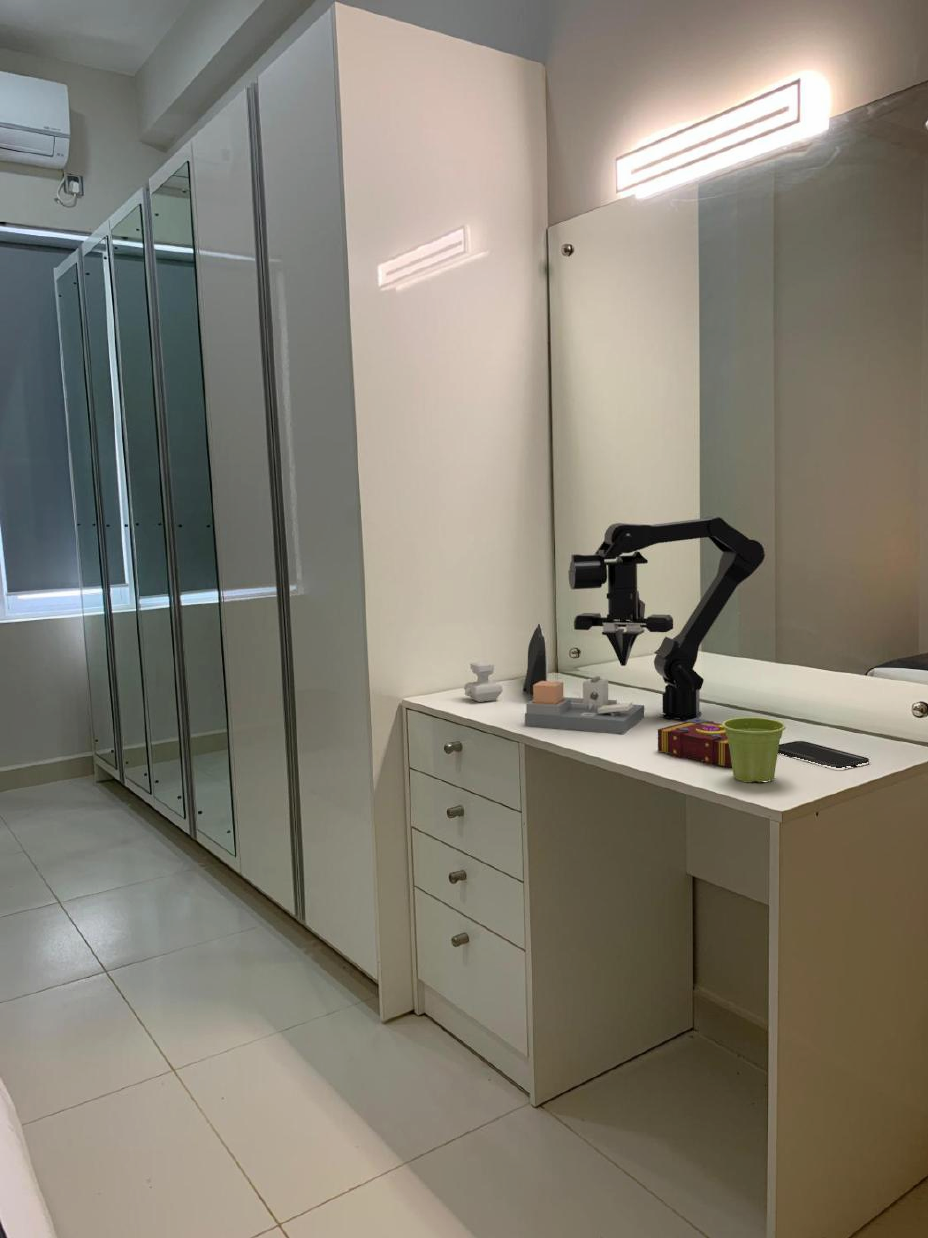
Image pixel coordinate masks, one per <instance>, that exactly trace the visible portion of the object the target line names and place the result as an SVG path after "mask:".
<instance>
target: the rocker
mask: <svg viewBox="0 0 928 1238" xmlns="http://www.w3.org/2000/svg"><path fill="white" fill-rule="evenodd" d="M632 707H633V702H624V703H619V704H613V705H604V706H602V707H600V708H599V709H597V710H598V713H608V712H617V711H626V710H629V709H630V708H632Z"/></svg>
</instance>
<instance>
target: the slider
mask: <svg viewBox="0 0 928 1238" xmlns="http://www.w3.org/2000/svg"><path fill="white" fill-rule="evenodd" d="M592 692H596V693H598V699H597V700H596V702H595V704H596V705H608V700H609V680H608V679H601V676H594V677H592V678H588V679H586V680H584V681H583V682H582V698H583V704H588V703H589V700H590V694H591V693H592Z"/></svg>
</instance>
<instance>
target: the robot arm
mask: <svg viewBox="0 0 928 1238" xmlns="http://www.w3.org/2000/svg"><path fill="white" fill-rule="evenodd" d="M702 538H708V539H709V540H710V541H711V542H712V543H713V544H714V546H715V547H716V548H717V549H718V550H719V551H721V553H722V554H721V557H720V560H719V564H718V569H717V573H716V575H715V577H714V578H713V580H712V581H711V583H710V585H709V587H708V588H707V589H706V592H705V593H704V594H703V596H702V597H701V599H700V600H699V602H698V604H697V605H696V607H695V609H694V610H693V611H692V613H691V614H690V616H689V618H688V620H687V621H686V623H685V624H684V625H683V627H682V629H681V630H680V632H679V633H678V634H677V635H675V636H674V637H673V638H671V637H668V636H665V637H664V638H663V640H662V642H661V644H660V645H659V647H658V649H657V650H655V651H654V654H655V657H654V659H653V664H654V668H655V671H656V673H658V674H659V676H662V679H663V682H664V683H665V684H667V685H666V686H664V692H663V693H662V714H663V715H662V719H671V720H683V721H687V720H691V719H694V718H699V717H700V716H701V715H702V711H700V706H701V705H700V699H701V698H700V697H701V696H700V690H701V689H702V687H703V684H704V680H705V679H704V678H703V677H702V676H701V675H699V674H698V672H696V671H695V669H694V667H695V665H696V662H697V661H698V660H697V659H698V654H699V648H700V646H701V644H702V642H703V640H704V638H705V637H706V636H707V634H708V633H709V632H710V629H712V628H711V627H712V626H713V625H714V623H715V622H716V620H717V619H718V617H719V615H720V614H721V612H722V611H723V609H724V608H725V606H726V605H727V604H728V602H729V600H730V598H731V597H732V595H733V593H734V592H735V590H736V589H737V587H738V586H739V585H740V584H741V583H743V582H744V581H745V580H747V579H748V578H749V577H750V576H751V575H752V574H754V573H755V571H756V570H757V569H758V568H759V567H760V566H761V564H763V562H764V560H765V558H766V557H765V556H766V553H765V549H764V547H763V545H762V543H760V541H757V540H756V539H750V538H748V537H747V536H746V535H744V534H743V533H742V532H740V531H739V530H737V529H736V528H734V527H733V526H731V525H730V524H728V523H727V522H726V521H725V520H724V519H723V518H722V517H719V516H706V517H703V518H698V519H697V518H696V519H688V520H680V521H673V522H672V521H671V522H662V523H656V524H644V523H643V524H642V523H641V524H640V523H624V522H623V523H622V522H616V523H613V524H610V525H609V526H608V528H607V529H606V531H605V532H604V539H603V541H602V543H601V544H600V546H599V547H598V549H597V550H596V551H595V553H594V554H578V553H577V554H571V556H570V557H571V558H570V563H569V570H568V583H569V586H570V588H571V590H587V589H591V590H592V589H593V590H594V589H601V588H602V586H603V585H605V584H606V583H607V593H606V599H607V601H608V603H607V605H608V606H607V607H608V608H607V609H608V610H607V611H608V613H607V614H606V617H604V616H603V617H602V615H601V613H599V612H596V613H595V612H583V613H580V614H577V615H576V616H575V617H574V620H573V629H574V630H576V631H589V630H590V629H592V627H602V632H601V635H602V636H606V637H607V639H608V641H609V642H610V644H611V646H612V648H613V650H614V652H615V654H616V657H617V659H618V661H619V664H620V666H622V667H626V666H627V664H628V661H629V658H630V656H631V655H630V654H631V652H632V649H633V647H634V643H635V641H636V639H637V638H638V636H640V635H642V634H644V633H645V628H646V630H647V631H649V633H668V632H669V631H671V630H673V629H674V619H673V617H672V615H671V614H653V613H652V614H651V615H650V616H647V617H646V618H645V613H646V612H645V611H646V603H645V602H643V600H642V599H640V593H639V590H638V565H642V564H644V565H645V564H648V562H649V560H648V559H647V558H646V557H644V556H643V555H642V553H641V552H640V550H644V549H645V548H648V547H651V546H654V545H657V544H663V543H671V542H679V541H686V540H687V541H688V540H693V539H695V540H697V539H702ZM630 553H633V554H631V555H622V554H630ZM605 560H608V561H605ZM609 560H613V561H609ZM625 629H626V630H625Z"/></svg>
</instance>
